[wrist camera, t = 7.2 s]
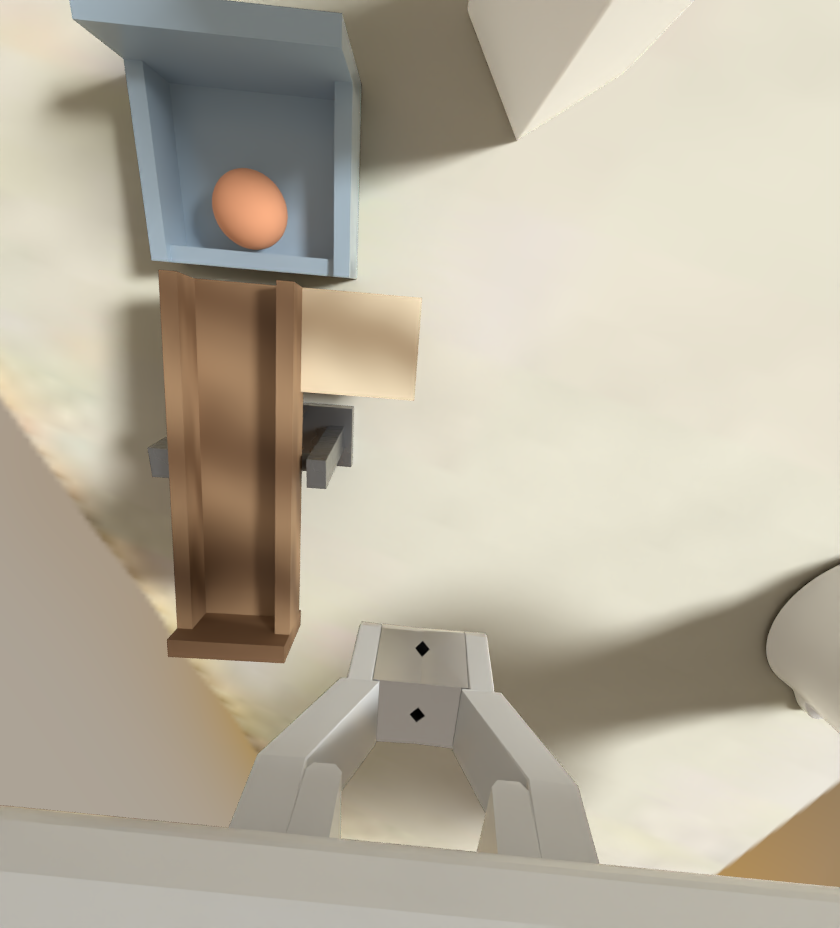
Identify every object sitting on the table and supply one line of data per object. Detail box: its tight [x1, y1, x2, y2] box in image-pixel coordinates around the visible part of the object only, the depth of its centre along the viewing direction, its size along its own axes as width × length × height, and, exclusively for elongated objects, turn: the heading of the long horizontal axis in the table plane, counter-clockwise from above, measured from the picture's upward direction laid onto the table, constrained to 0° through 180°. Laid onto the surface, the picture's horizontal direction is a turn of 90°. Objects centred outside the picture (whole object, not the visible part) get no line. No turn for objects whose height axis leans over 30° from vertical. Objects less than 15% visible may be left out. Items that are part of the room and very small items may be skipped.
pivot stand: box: [148, 403, 354, 489], centre depth 25 cm, size 4×10×7 cm, turn 85°
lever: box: [158, 270, 422, 663], centre depth 23 cm, size 19×12×4 cm, turn 175°
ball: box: [212, 168, 288, 250], centre depth 21 cm, size 4×4×4 cm
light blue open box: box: [69, 0, 361, 279], centre depth 20 cm, size 10×9×6 cm
